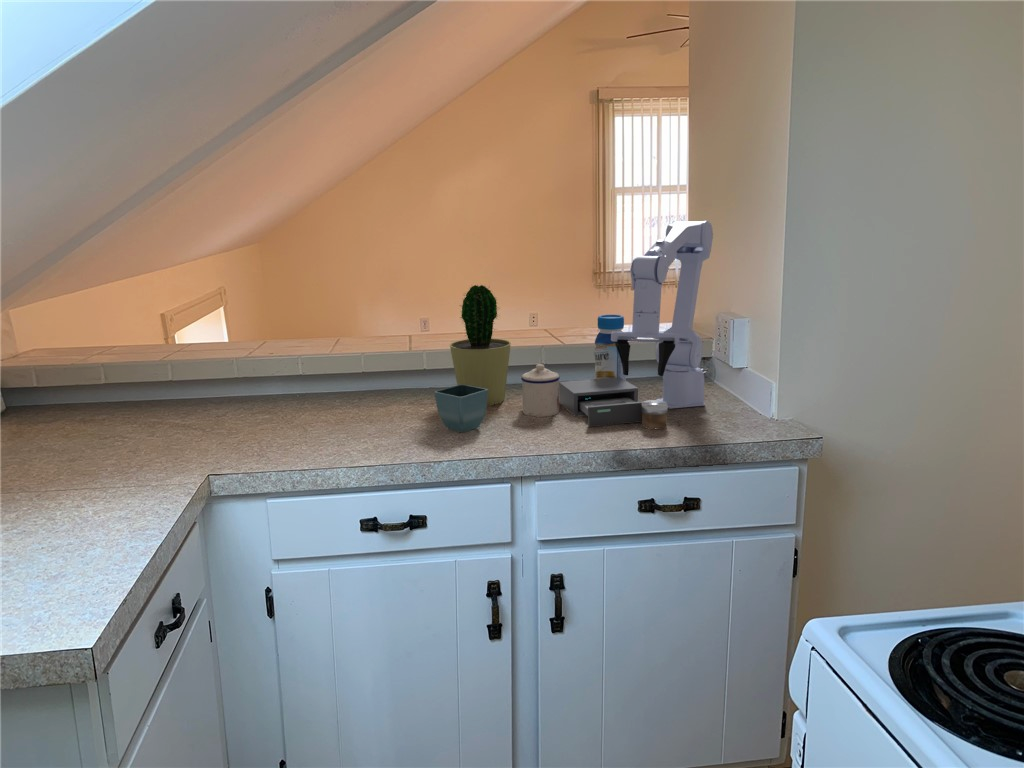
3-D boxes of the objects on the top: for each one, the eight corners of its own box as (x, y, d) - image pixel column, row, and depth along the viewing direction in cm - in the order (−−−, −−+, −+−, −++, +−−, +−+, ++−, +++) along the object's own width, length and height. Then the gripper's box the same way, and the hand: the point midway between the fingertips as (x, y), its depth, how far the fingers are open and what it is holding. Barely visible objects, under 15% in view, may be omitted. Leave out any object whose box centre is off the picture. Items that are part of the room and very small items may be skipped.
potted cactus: (448, 408, 183) (443, 286, 176) (455, 393, 198) (450, 280, 191) (511, 408, 182) (508, 285, 175) (513, 392, 197) (510, 279, 190)
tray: (634, 406, 179) (634, 389, 178) (655, 420, 168) (655, 401, 167) (572, 412, 176) (572, 394, 175) (589, 426, 164) (589, 407, 163)
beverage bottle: (631, 393, 193) (632, 317, 188) (601, 396, 190) (601, 319, 186) (618, 386, 200) (619, 312, 196) (589, 389, 198) (589, 315, 194)
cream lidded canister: (566, 414, 176) (566, 366, 173) (532, 419, 172) (531, 370, 169) (543, 402, 186) (542, 357, 183) (510, 407, 182) (509, 361, 180)
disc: (660, 406, 167) (661, 399, 166) (671, 413, 161) (671, 405, 161) (637, 409, 165) (637, 401, 165) (647, 415, 160) (647, 407, 160)
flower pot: (434, 429, 166) (432, 391, 164) (463, 421, 172) (461, 383, 170) (461, 437, 160) (460, 397, 158) (490, 427, 166) (489, 389, 164)
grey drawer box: (619, 397, 189) (619, 377, 188) (639, 410, 177) (639, 388, 176) (559, 402, 186) (559, 382, 185) (575, 416, 173) (575, 394, 172)
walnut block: (658, 423, 167) (659, 408, 166) (666, 428, 163) (666, 412, 162) (642, 424, 166) (642, 409, 165) (649, 429, 162) (649, 414, 161)
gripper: (616, 312, 155) (613, 377, 157) (685, 314, 155) (681, 378, 158) (610, 310, 162) (607, 372, 164) (676, 312, 162) (672, 373, 165)
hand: (643, 375), depth 161 cm, fingers open, 7 cm apart
